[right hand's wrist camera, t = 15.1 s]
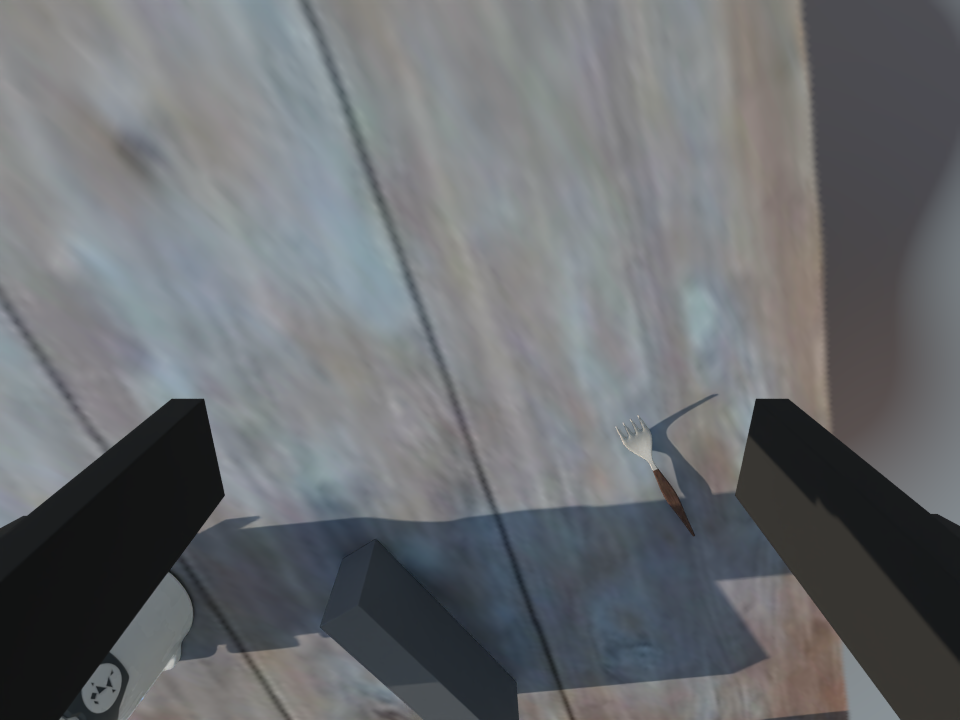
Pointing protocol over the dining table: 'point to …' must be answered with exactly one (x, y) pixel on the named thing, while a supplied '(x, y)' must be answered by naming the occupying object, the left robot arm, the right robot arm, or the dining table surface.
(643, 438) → the fork
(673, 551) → the dining table surface
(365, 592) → the bar
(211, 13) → the dining table surface
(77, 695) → the left robot arm
